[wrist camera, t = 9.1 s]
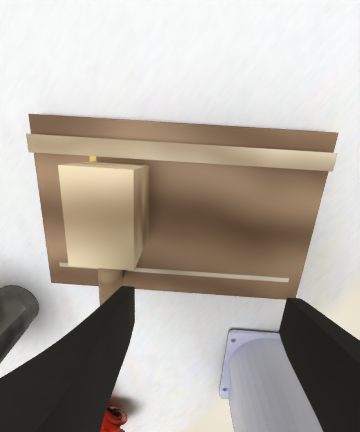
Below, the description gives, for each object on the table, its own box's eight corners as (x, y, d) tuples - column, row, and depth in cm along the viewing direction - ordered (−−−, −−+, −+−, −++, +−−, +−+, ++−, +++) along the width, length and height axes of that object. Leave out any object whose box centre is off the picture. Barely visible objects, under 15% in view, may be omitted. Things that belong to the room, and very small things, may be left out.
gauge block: (147, 277, 19) (134, 320, 14) (102, 274, 19) (73, 316, 14) (149, 164, 16) (133, 169, 11) (96, 161, 16) (57, 165, 11)
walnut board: (287, 289, 20) (301, 309, 18) (60, 273, 21) (42, 291, 18) (325, 134, 16) (351, 131, 14) (42, 116, 17) (15, 110, 14)
